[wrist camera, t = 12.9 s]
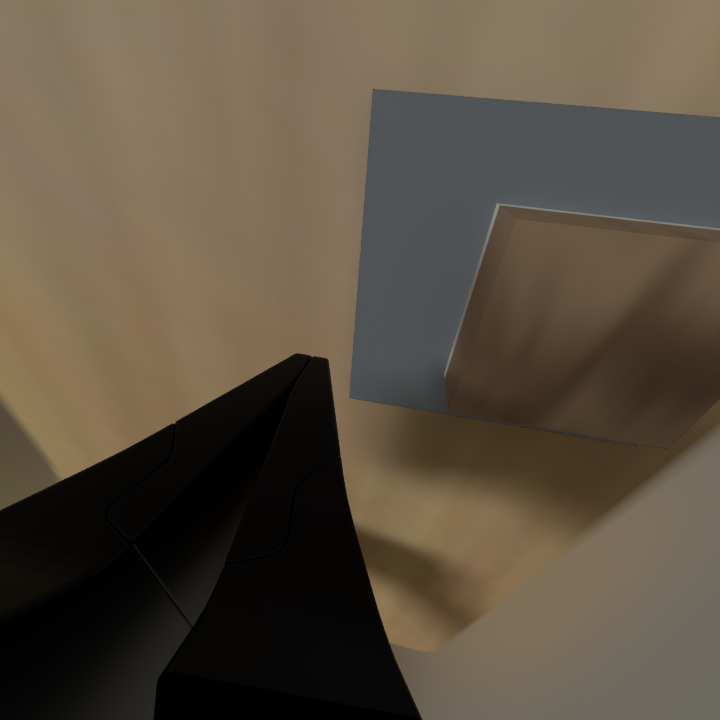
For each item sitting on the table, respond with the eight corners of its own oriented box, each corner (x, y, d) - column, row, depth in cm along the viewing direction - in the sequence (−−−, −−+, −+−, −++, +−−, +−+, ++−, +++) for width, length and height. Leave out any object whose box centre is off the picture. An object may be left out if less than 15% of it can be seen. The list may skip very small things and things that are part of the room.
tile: (444, 373, 14) (629, 402, 13) (448, 412, 12) (666, 448, 11) (497, 203, 10) (768, 233, 9) (517, 218, 8) (866, 259, 7)
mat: (631, 437, 15) (637, 445, 15) (351, 391, 16) (349, 398, 16) (907, 135, 8) (933, 134, 8) (375, 91, 9) (373, 88, 9)
